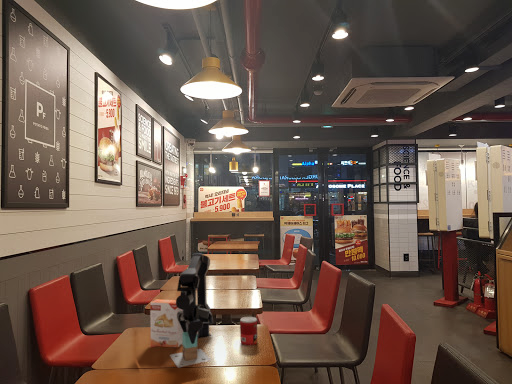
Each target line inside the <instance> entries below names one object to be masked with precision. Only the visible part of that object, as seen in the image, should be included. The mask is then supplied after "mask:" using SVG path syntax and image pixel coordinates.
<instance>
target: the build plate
mask: <svg viewBox="0 0 512 384" xmlns="http://www.w3.org/2000/svg"><path fill="white" fill-rule="evenodd" d="M169 357H170V359H171V360H172V361H173V363H174V364H175V366H176V367H177V368H179V369H180V368H183V367H187V366H192V365H196V364H197V365H198V364H200V363H205V362H206V363H207V362H211V361H212V359H211V358H210V357H209V356H208V355H207V354H206V353H205V352H204V350H203V349H202V348H197V359H193V360H188V361H185V359H184V358H183V357H182V351H181V352H177V353H172V354H169Z"/></svg>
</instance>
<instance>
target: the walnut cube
mask: <svg viewBox="0 0 512 384" xmlns="http://www.w3.org/2000/svg"><path fill="white" fill-rule="evenodd" d="M181 346H182V348H181V349H182V351H181V352H182V357H183V358H184V359H185V361H188V360H193V359H197V349H198V345H197V346H196V347H191V348H185V347H184V346H183V345H181Z"/></svg>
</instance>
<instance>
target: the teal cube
mask: <svg viewBox="0 0 512 384" xmlns="http://www.w3.org/2000/svg"><path fill="white" fill-rule="evenodd" d="M182 345H183V346H184V347H185V348H191V347H196V346H197V347H198V337H197V335H196V339H195V343H194V344H191V341H190V338H189V336H188V333H187V332H183V333H182ZM182 345H181V346H182Z"/></svg>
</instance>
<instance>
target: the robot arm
mask: <svg viewBox="0 0 512 384" xmlns="http://www.w3.org/2000/svg"><path fill="white" fill-rule="evenodd" d="M190 259H191V260H190V262H189V264H188V265H187V266H188V267H187V268H186V269H185V270H183V271H181V273H180V276H179V278H178V283H177V289H176V291H177V292H180V294H179V295H178V297H177V298H176V299H175V300H176V305H177V307H178V308H179V309H182V311H179V312H178V313H177V319H178V321H179V323H180V326H181V328H182V330H183V332H187V333H188V336H189V338H190V341H191V344H194V343H195V339H196V335H197V339H202V338H207V337H211V336H213V335H212V334H211V333H210V326H212V324H214V318H213V314H212V311H211V307H210V306H209V304H208V303H207V273H208V271H209V269H210V266H211V259H210V257H209V256H207V255H204V253H192V255H191V257H190Z"/></svg>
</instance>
